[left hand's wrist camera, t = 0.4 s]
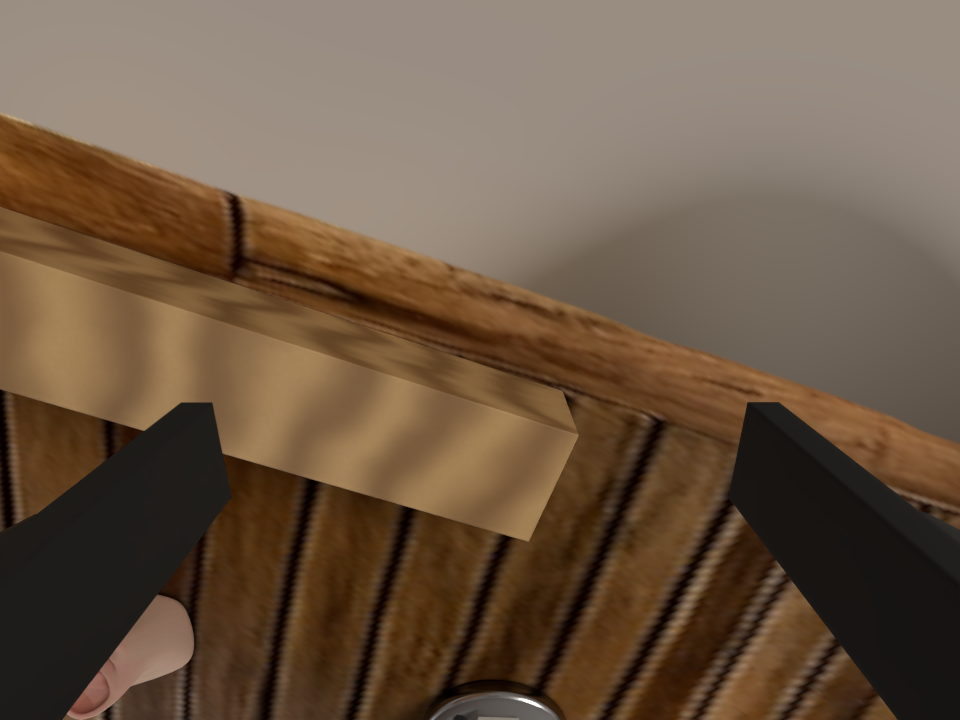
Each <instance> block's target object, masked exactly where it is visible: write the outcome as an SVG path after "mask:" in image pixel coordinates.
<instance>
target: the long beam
mask: <svg viewBox="0 0 960 720" xmlns="http://www.w3.org/2000/svg"><path fill="white" fill-rule="evenodd" d="M0 389H1V390H5V391H8V392H11V393H15V394H18V395H22V396H25V397H29V398H32V399H36V400H39V401H43V402H46V403H50V404H53V405H57V406H60V407H63V408H67V409H70V410H74V411H77V412H81V413H84V414H88V415H91V416H95V417H98V418H102V419H105V420H109V421H112V422H115V423H119V424H122V425H126V426H129V427H133V428H136V429H140V430H143V431H145V430H146V429H147V428H149V427H150V426H151V425H153V424H154V423H155V422H156V421H158V420H159V419H160V418H162V417H163V416H164V415H165V414H167V413H168V412H169V411H171V410H172V409H173V408H175V407H176V406H177V405H178V404H180V403H181V402H212V403H213V408H214V413H215V418H216V423H217V428H218V433H219V438H220V443H221V448H222V453H223V454H226V455H230V456H233V457H237V458H240V459H244V460H247V461H251V462H254V463H258V464H261V465H264V466H268V467H271V468H275V469H278V470H282V471H285V472H289V473H292V474H296V475H299V476H303V477H306V478H310V479H313V480H316V481H320V482H323V483H327V484H330V485H334V486H337V487H341V488H344V489H348V490H351V491H355V492H358V493H362V494H365V495H368V496H372V497H375V498H379V499H382V500H386V501H389V502H393V503H396V504H400V505H403V506H407V507H410V508H414V509H417V510H420V511H424V512H427V513H431V514H434V515H438V516H441V517H445V518H448V519H452V520H455V521H459V522H462V523H466V524H469V525H472V526H476V527H479V528H483V529H486V530H490V531H493V532H497V533H500V534H504V535H507V536H511V537H514V538H518V539H521V540H524V541H529V540H530V537H531V535H532V533H533V531H534V529H535V527H536V525H537V523H538V521H539V518H540V516H541V514H542V512H543V510H544V508H545V506H546V504H547V502H548V499H549V497H550V495H551V493H552V491H553V489H554V487H555V485H556V482H557V480H558V478H559V476H560V474H561V472H562V470H563V468H564V466H565V463H566V461H567V459H568V457H569V455H570V453H571V451H572V449H573V447H574V444H575V442H576V440H577V438H578V436H579V435H578V432H577V429H576V427H575V424H574V421H573V419H572V416H571V413H570V411H569V408H568V405H567V402H566V400H565V397H564V394H563V392H562V391H561V390H558V389H554V388H551V387H548V386H545V385H542V384H539V383H536V382H533V381H530V380H527V379H524V378H521V377H518V376H515V375H512V374H509V373H506V372H503V371H500V370H496V369H493V368H490V367H487V366H484V365H481V364H478V363H475V362H472V361H469V360H466V359H463V358H460V357H457V356H454V355H451V354H448V353H445V352H442V351H438V350H435V349H432V348H429V347H426V346H423V345H420V344H417V343H414V342H411V341H408V340H405V339H402V338H399V337H396V336H393V335H390V334H387V333H384V332H380V331H377V330H374V329H371V328H368V327H365V326H362V325H359V324H356V323H353V322H350V321H347V320H344V319H341V318H338V317H335V316H332V315H329V314H326V313H322V312H319V311H316V310H313V309H310V308H307V307H304V306H301V305H298V304H295V303H292V302H289V301H286V300H283V299H280V298H277V297H274V296H271V295H268V294H264V293H261V292H258V291H255V290H252V289H249V288H246V287H243V286H240V285H237V284H234V283H231V282H228V281H225V280H222V279H219V278H216V277H213V276H210V275H207V274H203V273H200V272H197V271H194V270H191V269H188V268H185V267H182V266H179V265H176V264H173V263H170V262H167V261H164V260H161V259H158V258H155V257H152V256H149V255H145V254H142V253H139V252H136V251H133V250H130V249H127V248H124V247H121V246H118V245H115V244H112V243H109V242H106V241H103V240H100V239H97V238H94V237H91V236H87V235H84V234H81V233H78V232H75V231H72V230H69V229H66V228H63V227H60V226H57V225H54V224H51V223H48V222H45V221H42V220H39V219H36V218H33V217H29V216H26V215H23V214H20V213H17V212H14V211H11V210H8V209H5V208H2V207H0Z"/></svg>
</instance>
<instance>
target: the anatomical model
mask: <svg viewBox="0 0 960 720" xmlns="http://www.w3.org/2000/svg"><path fill="white" fill-rule="evenodd" d="M193 651H194V635H193V630H192V625H191V622H190V619H189V616H188V614H187V611H186V610H185V608H184V607H183V605H181V604H180V603H179V602H178V601H176V600H174V599H172V598H169V597H166V596H162V595H157V596H156V597H155V598H154V600H153V601H152V602H151V604H150V605H149V606H148V608H147V609H146V610H145V611H144V613H143V614H142V615H141V617H140V618H139V619H138V621H137V622H136V623H135V625H134V626H133V627H132V629H131V630H130V631H129V633H128V634H127V635H126V636H125V638H124V639H123V640H122V642H121V643H120V644H119V646H118V647H117V648H116V650H115V651H114V652H113V654H112V655H111V656H110V657H109V659H108V660H107V661H106V663H105V664H104V665H103V667H102V668H101V669H100V671H99V672H98V673H97V675H96V676H95V677H94V679H93V680H92V681H91V682H90V684H89V685H88V686H87V688H86V689H85V690H84V692H83V693H82V694H81V696H80V697H79V698H78V700H77V701H76V702H75V704H74V705H73V706H72V707H71V709H70V710H69V711H68V713H67V714H68V715H69V716H70V717H72V718H75V719H80V720H81V719H88V718H91V717H93V716H96V715H97V714H99V713H101V712H103V711H104V710H105V709H107V708H108V707H110V706H111V705H112V704H113V703H115V702H116V701H117V700H118V699H119V698H120V697H121V696H122V695H123V694H124V693H125V692H126V691H127V690H128V688H129V687H130V686H133V685H136V684H139V683H142V682H145V681H149V680H152V679H155V678H157V677H160V676H163V675H166V674H168V673H171V672H173V671H175V670H177V669H179V668H181V667H183V666H184V665H185V664H186V663H187V662H188V661H189V660H190V659H191V657H192V654H193Z"/></svg>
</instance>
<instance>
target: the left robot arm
mask: <svg viewBox="0 0 960 720" xmlns="http://www.w3.org/2000/svg"><path fill="white" fill-rule="evenodd" d="M230 498H231V493H230V488H229V483H228V478H227V473H226V468H225V463H224V458H223V453H222V448H221V443H220V438H219V433H218V428H217V423H216V418H215V413H214V408H213V403H212V402H181V403H180V404H178V405H177V406H176V407H175V408H173V409H172V410H171V411H169V412H168V413H167V414H165V415H164V416H163V417H162V418H160V419H159V420H158V421H156V422H155V423H154V424H153V425H151V426H150V427H149V428H147V429H146V430H145V431H144V432H142V433H141V434H140V435H138V436H137V437H136V438H135V439H133V440H132V441H131V442H129V443H128V444H127V445H126V446H124V447H123V448H122V449H120V450H119V451H118V452H117V453H115V454H114V455H113V456H111V457H110V458H109V459H107V460H106V461H105V462H104V463H102V464H101V465H100V466H98V467H97V468H96V469H95V470H93V471H92V472H91V473H89V474H88V475H87V476H86V477H84V478H83V479H82V480H80V481H79V482H78V483H77V484H75V485H74V486H73V487H71V488H70V489H69V490H68V491H66V492H65V493H64V494H62V495H61V496H60V497H59V498H57V499H56V500H55V501H53V502H52V503H51V504H49V505H48V506H47V507H46V508H44V509H43V510H42V511H40V512H39V513H38V514H34V515H33V516H31V517H29V518H27V519H25V520H23V521H21V522H19V523H17V524H15V525H13V526H11V527H9V528H7V529H6V530H4V531H2V532H0V720H62V719H63V718H64V717H65V715H66V714H67V713H68V711H69V710H70V709H71V707H72V706H73V705H74V704H75V702H76V701H77V700H78V698H79V697H80V696H81V694H82V693H83V692H84V690H85V689H86V688H87V686H88V685H89V684H90V682H91V681H92V680H93V679H94V677H95V676H96V675H97V673H98V672H99V671H100V669H101V668H102V667H103V665H104V664H105V663H106V661H107V660H108V659H109V657H110V656H111V655H112V654H113V652H114V651H115V650H116V648H117V647H118V646H119V644H120V643H121V642H122V640H123V639H124V638H125V636H126V635H127V634H128V633H129V631H130V630H131V629H132V627H133V626H134V625H135V623H136V622H137V621H138V619H139V618H140V617H141V615H142V614H143V613H144V611H145V610H146V609H147V608H148V606H149V605H150V604H151V602H152V601H153V600H154V598H155V597H156V596H157V594H158V593H159V592H160V590H161V589H162V588H163V587H164V585H165V584H166V583H167V581H168V580H169V579H170V577H171V576H172V575H173V573H174V572H175V571H176V569H177V568H178V567H179V565H180V564H181V563H182V562H183V560H184V559H185V558H186V556H187V555H188V554H189V552H190V551H191V550H192V548H193V547H194V546H195V544H196V543H197V542H198V541H199V539H200V538H201V537H202V535H203V534H204V533H205V531H206V530H207V529H208V527H209V526H210V525H211V523H212V522H213V521H214V519H215V518H216V517H217V516H218V514H219V513H220V512H221V510H222V509H223V508H224V506H225V505H226V504H227V502H228V501H229V500H230ZM729 498H730V500H731V501H732V502H733V504H734V505H735V506H736V508H737V509H738V510H739V512H740V513H741V514H742V516H743V517H744V518H745V519H746V521H747V522H748V523H749V525H750V526H751V527H752V529H753V530H754V531H755V533H756V534H757V535H758V537H759V538H760V539H761V541H762V542H763V543H764V544H765V546H766V547H767V548H768V550H769V551H770V552H771V554H772V555H773V556H774V558H775V559H776V560H777V562H778V563H779V564H780V565H781V567H782V568H783V569H784V571H785V572H786V573H787V575H788V576H789V577H790V579H791V580H792V581H793V583H794V584H795V585H796V587H797V588H798V589H799V590H800V592H801V593H802V594H803V596H804V597H805V598H806V600H807V601H808V602H809V604H810V605H811V606H812V608H813V609H814V610H815V611H816V613H817V614H818V615H819V617H820V618H821V619H822V621H823V622H824V623H825V625H826V626H827V627H828V629H829V630H830V631H831V633H832V634H833V635H834V636H835V638H836V639H837V640H838V642H839V643H840V644H841V646H842V647H843V648H844V650H845V651H846V652H847V654H848V655H849V656H850V657H851V659H852V660H853V661H854V663H855V664H856V665H857V667H858V668H859V669H860V671H861V672H862V673H863V675H864V676H865V677H866V679H867V680H868V681H869V682H870V684H871V685H872V686H873V688H874V689H875V690H876V692H877V693H878V694H879V696H880V697H881V698H882V700H883V701H884V702H885V704H886V705H887V706H888V707H889V709H890V710H891V711H892V713H893V714H894V715H895V717H896V718H897V719H898V720H960V530H959V529H957V528H955V527H953V526H951V525H949V524H947V523H945V522H943V521H941V520H939V519H938V518H936V517H934V516H932V515H930V514H928V513H926V512H920V511H918V510H917V509H916V508H914V507H913V506H912V505H911V504H909V503H908V502H907V501H905V500H904V499H903V498H901V497H900V496H899V495H898V494H896V493H895V492H894V491H892V490H891V489H890V488H889V487H887V486H886V485H885V484H883V483H882V482H881V481H880V480H878V479H877V478H876V477H874V476H873V475H872V474H871V473H869V472H868V471H867V470H865V469H864V468H863V467H862V466H860V465H859V464H858V463H856V462H855V461H854V460H853V459H851V458H850V457H849V456H847V455H846V454H845V453H843V452H842V451H841V450H840V449H838V448H837V447H836V446H834V445H833V444H832V443H831V442H829V441H828V440H827V439H825V438H824V437H823V436H822V435H820V434H819V433H818V432H816V431H815V430H814V429H813V428H811V427H810V426H809V425H807V424H806V423H805V422H804V421H802V420H801V419H800V418H798V417H797V416H796V415H795V414H793V413H792V412H791V411H789V410H788V409H787V408H785V407H784V406H783V405H782V404H780V403H779V402H748V403H747V408H746V413H745V418H744V423H743V428H742V433H741V438H740V443H739V448H738V453H737V458H736V463H735V468H734V473H733V478H732V483H731V488H730V493H729ZM424 720H566V719H565V716H564V714H563V712H562V711H561V709H560V708H559V706H558V705H557V704H556V703H555V702H554V701H553V700H552V699H551V698H549V697H548V696H547V695H545V694H544V693H542V692H540V691H538V690H536V689H534V688H531V687H529V686H526V685H523V684H519V683H514V682H507V681H483V682H476V683H472V684H468V685H464V686H461V687H459V688H456V689H454V690H452V691H450V692H448V693H446V694H445V695H443V696H442V697H440V698H439V699H438V700H437V701H436V702H435V703H434V704H433V705H432V706H431V707H430V708H429V710H428V711H427V713H426V715H425V717H424Z"/></svg>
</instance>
